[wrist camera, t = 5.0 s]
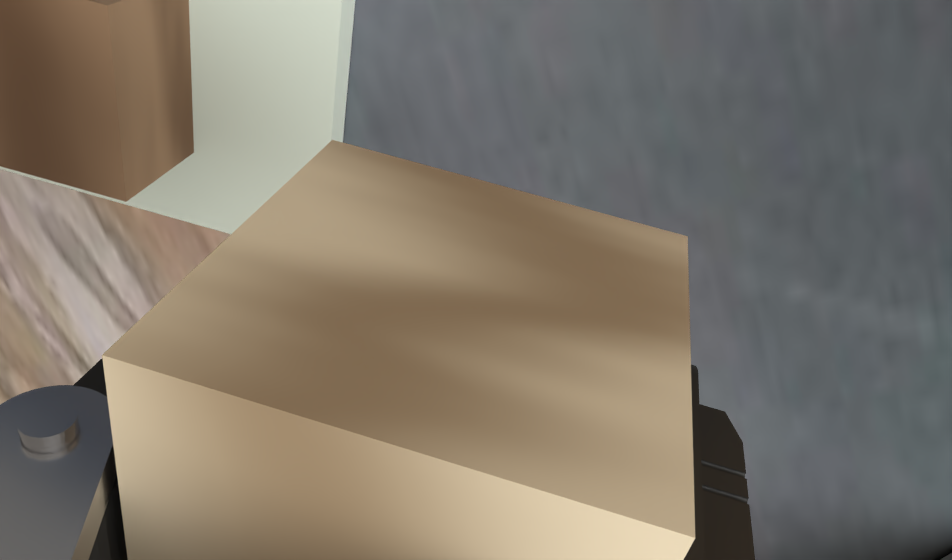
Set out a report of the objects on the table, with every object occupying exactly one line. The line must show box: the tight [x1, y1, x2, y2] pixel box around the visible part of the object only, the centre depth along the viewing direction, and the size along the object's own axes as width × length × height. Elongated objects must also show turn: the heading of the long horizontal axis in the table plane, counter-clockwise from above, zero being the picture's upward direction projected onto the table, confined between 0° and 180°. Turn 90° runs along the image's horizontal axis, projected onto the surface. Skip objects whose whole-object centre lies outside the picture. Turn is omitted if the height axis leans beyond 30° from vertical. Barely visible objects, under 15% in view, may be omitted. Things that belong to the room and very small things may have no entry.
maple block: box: [102, 140, 695, 560], centre depth 9 cm, size 5×5×5 cm
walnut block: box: [0, 0, 194, 202], centre depth 23 cm, size 6×6×4 cm
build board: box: [0, 0, 355, 234], centre depth 26 cm, size 16×12×1 cm
